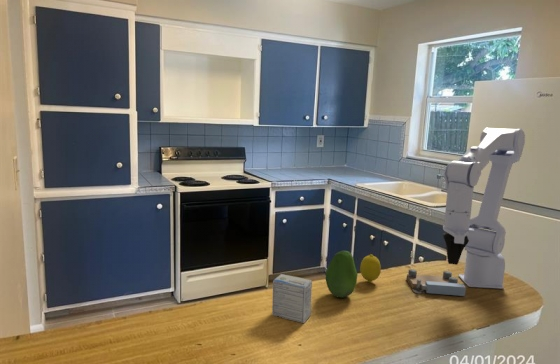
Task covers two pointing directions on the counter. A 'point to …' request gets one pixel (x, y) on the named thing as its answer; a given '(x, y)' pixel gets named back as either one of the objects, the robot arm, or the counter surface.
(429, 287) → the hinged leg
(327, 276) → the avocado
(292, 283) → the medicine box
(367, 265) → the lemon
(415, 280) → the board
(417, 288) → the pivot pin
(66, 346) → the counter surface
